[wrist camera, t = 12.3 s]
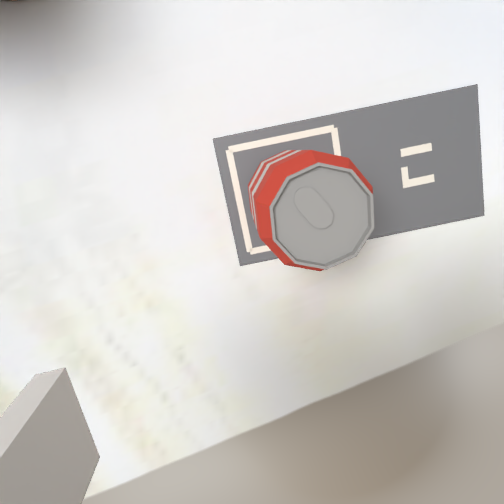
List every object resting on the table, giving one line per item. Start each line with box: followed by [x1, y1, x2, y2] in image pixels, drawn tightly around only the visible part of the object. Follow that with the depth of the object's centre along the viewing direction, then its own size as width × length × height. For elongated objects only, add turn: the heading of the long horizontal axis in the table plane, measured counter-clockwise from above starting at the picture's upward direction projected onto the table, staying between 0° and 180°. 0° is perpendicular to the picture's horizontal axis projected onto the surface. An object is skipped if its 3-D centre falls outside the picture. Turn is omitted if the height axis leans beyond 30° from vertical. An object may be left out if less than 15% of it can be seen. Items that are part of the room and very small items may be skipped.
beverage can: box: [248, 150, 374, 271], centre depth 25 cm, size 6×6×12 cm
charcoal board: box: [213, 84, 484, 266], centre depth 31 cm, size 20×10×1 cm, turn 101°
